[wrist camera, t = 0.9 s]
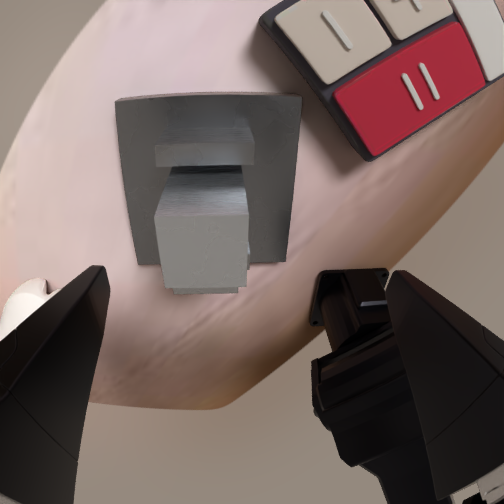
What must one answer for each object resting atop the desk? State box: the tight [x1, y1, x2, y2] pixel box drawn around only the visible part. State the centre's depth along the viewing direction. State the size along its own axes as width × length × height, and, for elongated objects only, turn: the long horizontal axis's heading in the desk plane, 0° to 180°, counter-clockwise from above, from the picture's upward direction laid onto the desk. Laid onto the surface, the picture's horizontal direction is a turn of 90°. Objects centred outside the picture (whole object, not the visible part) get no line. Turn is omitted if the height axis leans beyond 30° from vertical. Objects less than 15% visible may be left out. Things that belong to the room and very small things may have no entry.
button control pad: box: [259, 0, 504, 162], centre depth 14 cm, size 11×4×15 cm
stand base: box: [115, 92, 302, 270], centre depth 19 cm, size 12×11×5 cm
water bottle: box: [0, 278, 62, 341], centre depth 16 cm, size 7×7×25 cm
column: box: [154, 165, 249, 294], centre depth 18 cm, size 4×4×7 cm
